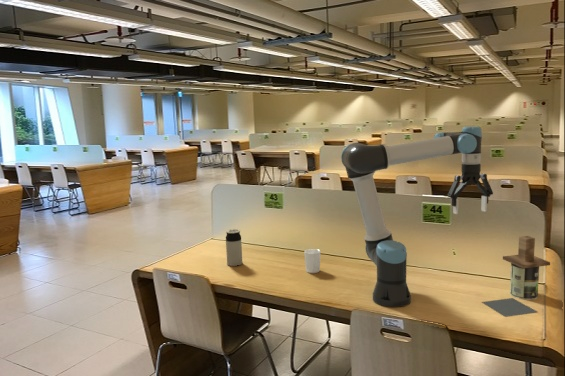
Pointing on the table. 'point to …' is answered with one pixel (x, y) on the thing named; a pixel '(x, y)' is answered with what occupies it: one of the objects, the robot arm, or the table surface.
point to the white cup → (312, 260)
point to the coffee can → (524, 282)
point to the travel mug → (233, 247)
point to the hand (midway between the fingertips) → (469, 212)
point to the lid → (526, 254)
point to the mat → (509, 307)
